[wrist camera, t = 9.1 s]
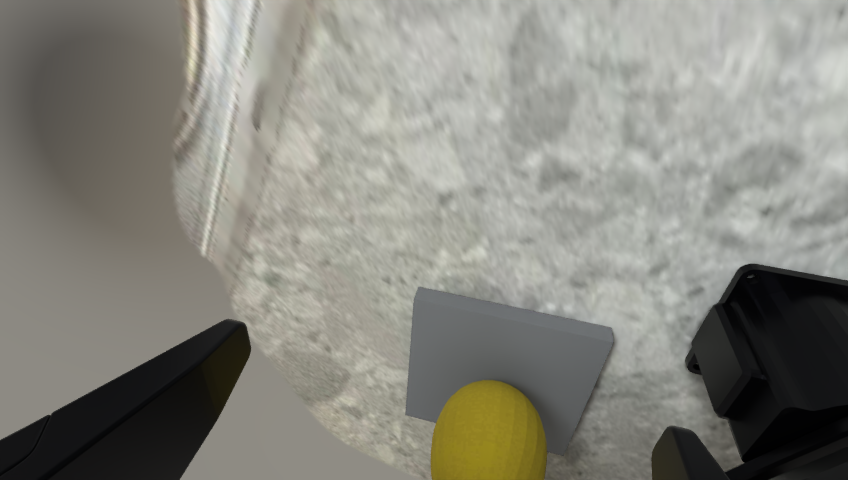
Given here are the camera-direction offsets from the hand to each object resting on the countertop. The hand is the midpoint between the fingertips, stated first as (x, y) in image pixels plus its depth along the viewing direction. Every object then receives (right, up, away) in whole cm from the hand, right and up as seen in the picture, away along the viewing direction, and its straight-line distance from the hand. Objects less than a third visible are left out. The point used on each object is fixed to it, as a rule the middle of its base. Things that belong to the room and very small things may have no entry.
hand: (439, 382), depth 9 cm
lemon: (+4, -5, +16) cm, 17 cm away
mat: (+4, -5, +17) cm, 18 cm away
